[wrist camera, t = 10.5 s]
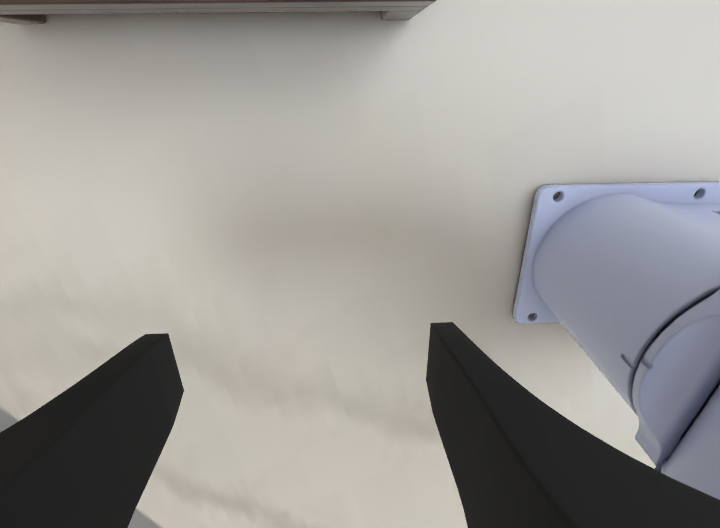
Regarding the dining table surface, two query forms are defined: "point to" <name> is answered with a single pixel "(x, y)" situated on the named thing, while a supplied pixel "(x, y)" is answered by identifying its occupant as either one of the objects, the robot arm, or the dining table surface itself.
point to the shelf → (200, 7)
